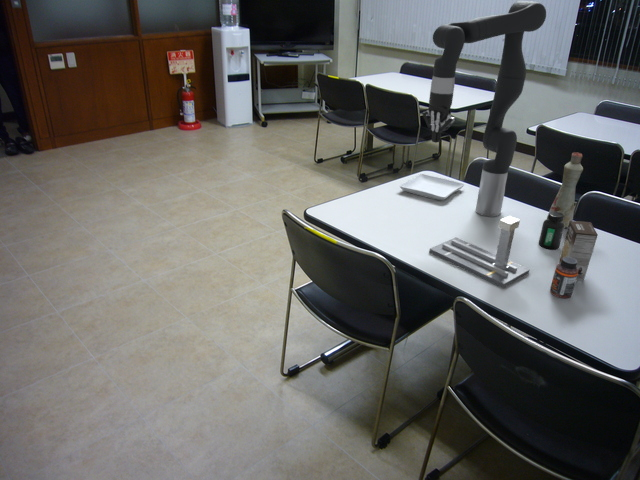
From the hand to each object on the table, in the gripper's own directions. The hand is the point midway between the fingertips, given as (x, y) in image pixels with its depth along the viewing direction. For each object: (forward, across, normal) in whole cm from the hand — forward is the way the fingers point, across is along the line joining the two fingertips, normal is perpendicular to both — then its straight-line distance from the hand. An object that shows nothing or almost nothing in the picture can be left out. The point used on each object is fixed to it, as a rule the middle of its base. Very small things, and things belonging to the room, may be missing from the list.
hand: (435, 141), depth 181 cm
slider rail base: (+31, -30, +10) cm, 44 cm away
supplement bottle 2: (+31, -56, +6) cm, 64 cm away
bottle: (+31, -31, -40) cm, 59 cm away
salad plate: (+32, +20, -28) cm, 47 cm away
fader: (+29, -38, +10) cm, 49 cm away
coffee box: (+31, -52, -8) cm, 61 cm away
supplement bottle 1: (+31, -38, -20) cm, 53 cm away
